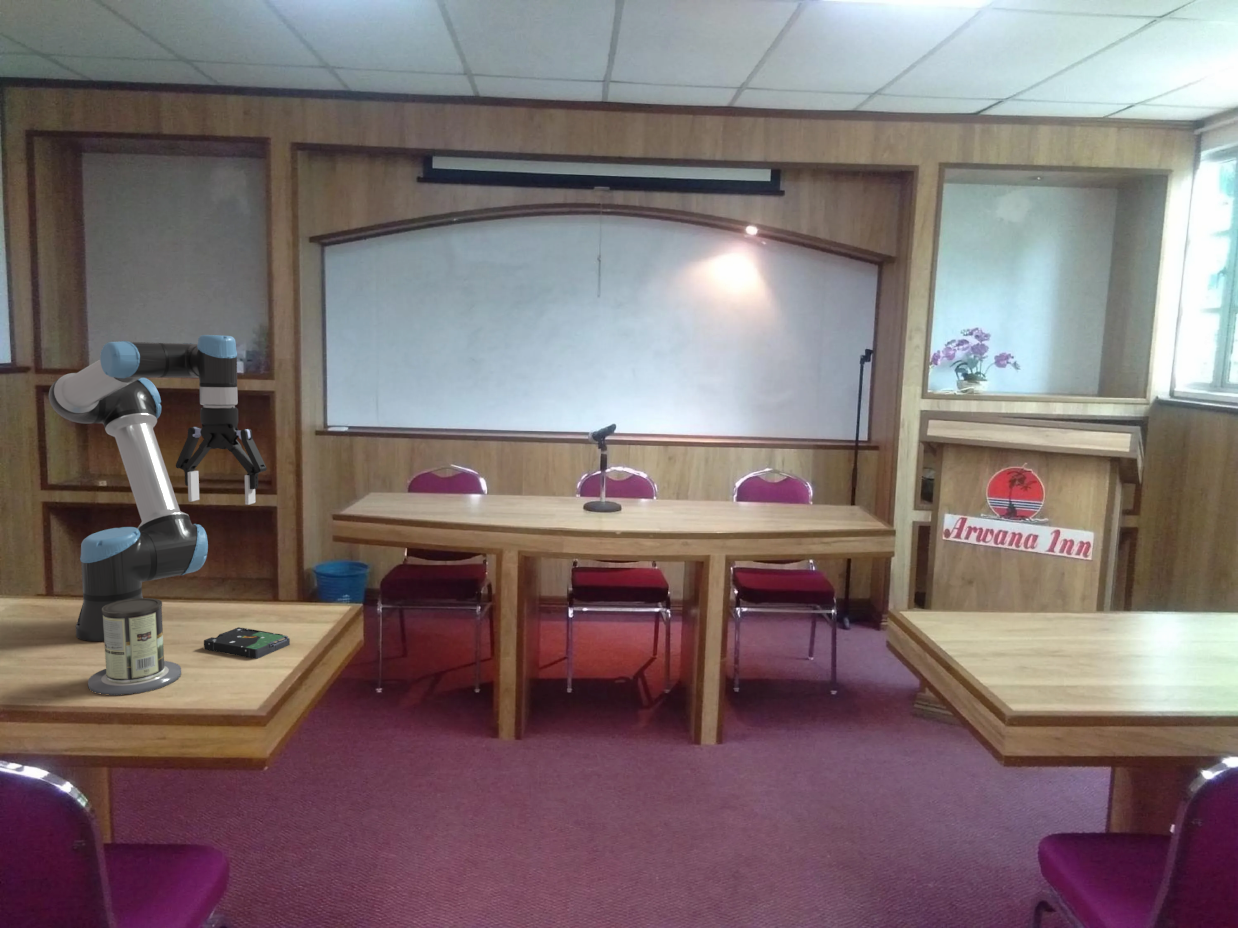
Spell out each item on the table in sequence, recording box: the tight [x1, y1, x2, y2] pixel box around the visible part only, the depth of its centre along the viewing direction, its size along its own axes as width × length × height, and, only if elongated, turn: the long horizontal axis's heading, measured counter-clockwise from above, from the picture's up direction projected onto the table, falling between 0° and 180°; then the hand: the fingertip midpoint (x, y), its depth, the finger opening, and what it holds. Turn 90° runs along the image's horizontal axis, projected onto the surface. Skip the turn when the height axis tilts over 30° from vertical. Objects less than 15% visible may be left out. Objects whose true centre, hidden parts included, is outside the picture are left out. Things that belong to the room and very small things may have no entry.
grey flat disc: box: [87, 660, 182, 696], centre depth 168 cm, size 16×16×1 cm
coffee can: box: [102, 597, 165, 683], centre depth 167 cm, size 10×10×14 cm
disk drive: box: [203, 626, 291, 660], centre depth 188 cm, size 10×3×15 cm
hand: (222, 502), depth 188 cm, fingers open, 13 cm apart
